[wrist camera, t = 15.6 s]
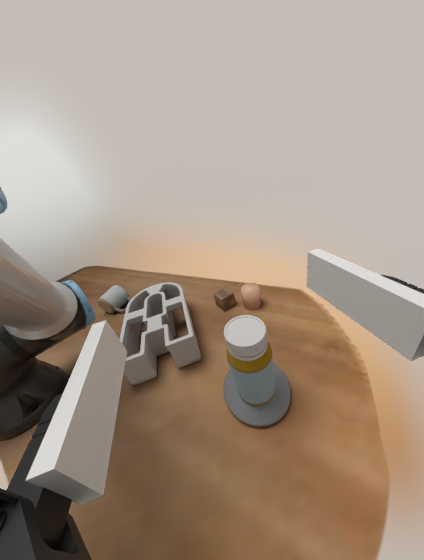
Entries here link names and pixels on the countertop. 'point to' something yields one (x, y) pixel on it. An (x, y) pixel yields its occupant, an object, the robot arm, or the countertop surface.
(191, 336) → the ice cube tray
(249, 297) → the pink rounded block
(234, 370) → the bottle
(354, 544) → the countertop surface
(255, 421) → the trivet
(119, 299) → the ceramic mug
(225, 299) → the walnut block
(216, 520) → the countertop surface
